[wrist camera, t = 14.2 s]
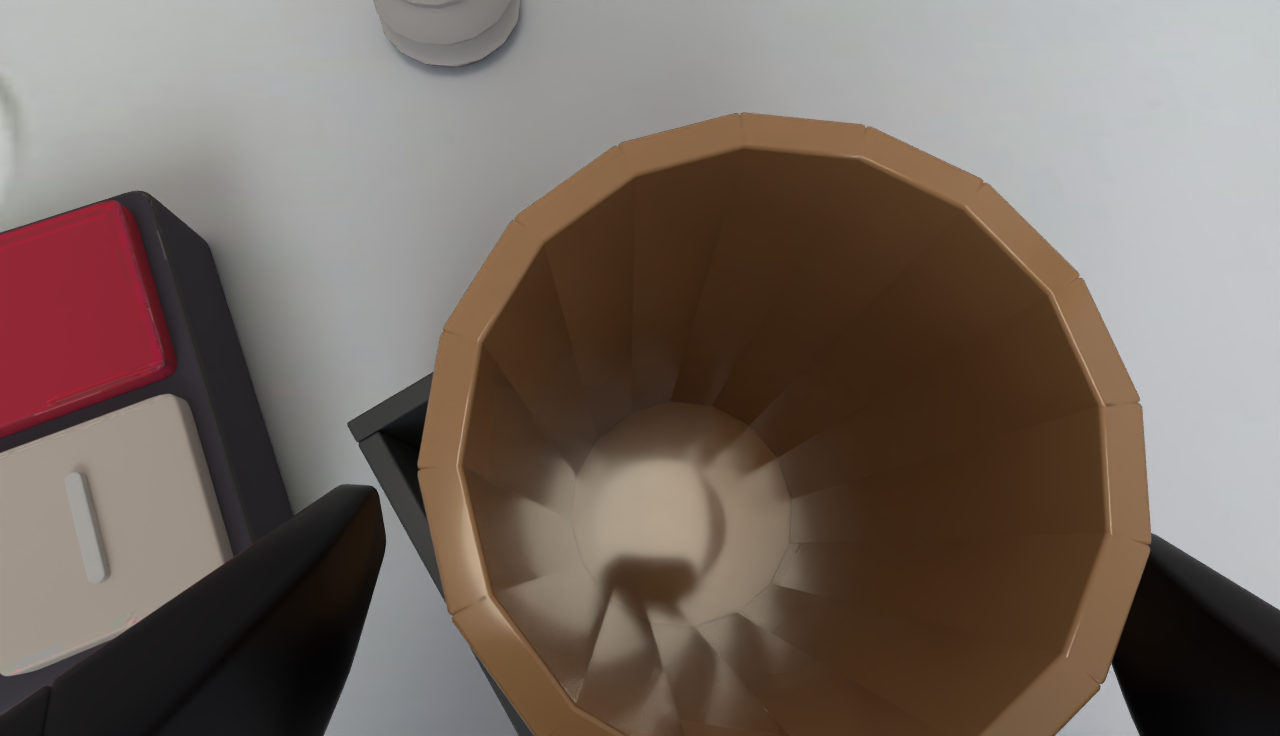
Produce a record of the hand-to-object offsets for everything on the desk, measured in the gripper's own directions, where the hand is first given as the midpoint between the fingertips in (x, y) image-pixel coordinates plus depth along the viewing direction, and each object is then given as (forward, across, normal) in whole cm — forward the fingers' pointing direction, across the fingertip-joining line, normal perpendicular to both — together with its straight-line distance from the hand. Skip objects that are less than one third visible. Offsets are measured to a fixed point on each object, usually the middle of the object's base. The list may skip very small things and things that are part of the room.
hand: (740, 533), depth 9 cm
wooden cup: (+8, 0, +7) cm, 10 cm away
